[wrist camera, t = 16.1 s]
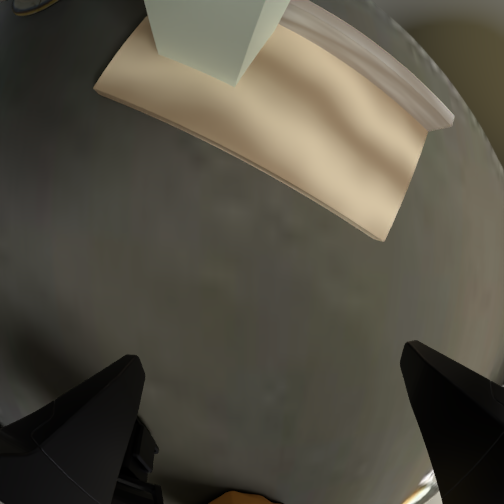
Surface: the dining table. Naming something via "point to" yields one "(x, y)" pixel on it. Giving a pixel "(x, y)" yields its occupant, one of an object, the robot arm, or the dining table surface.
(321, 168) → the shelf
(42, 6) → the apothecary jar
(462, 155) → the dining table surface
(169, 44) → the carton
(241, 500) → the coffee package
